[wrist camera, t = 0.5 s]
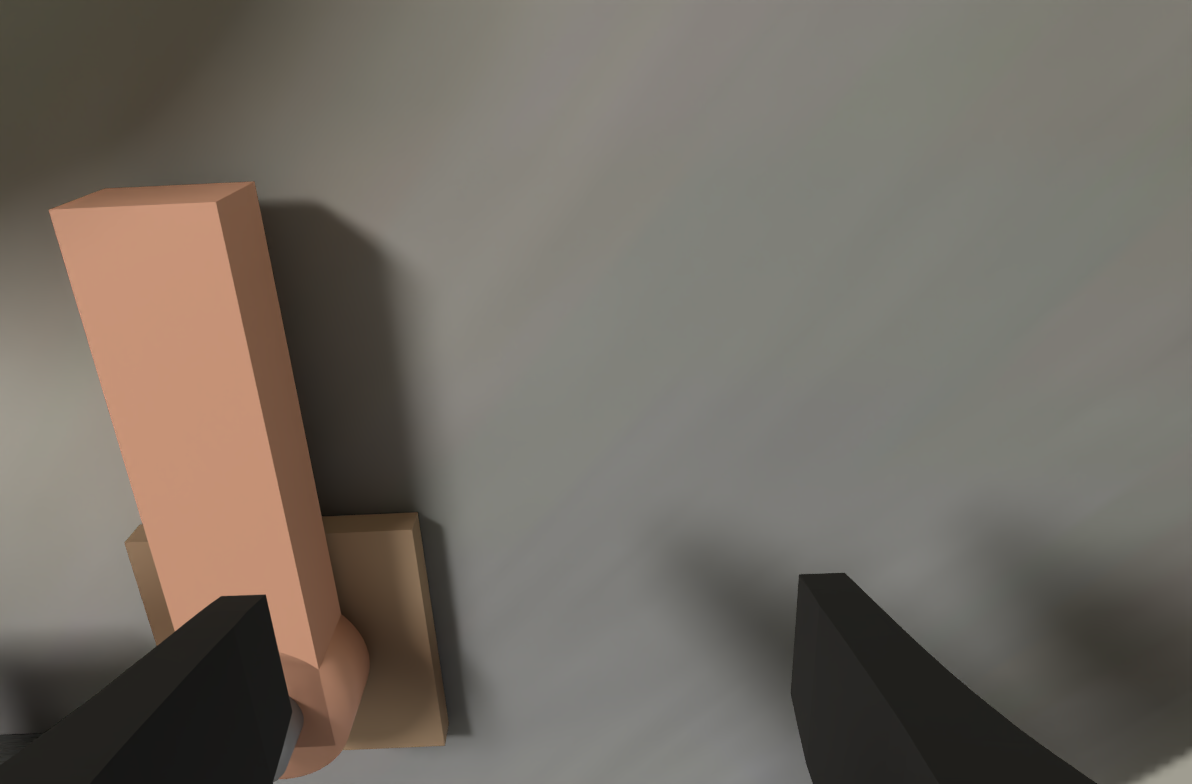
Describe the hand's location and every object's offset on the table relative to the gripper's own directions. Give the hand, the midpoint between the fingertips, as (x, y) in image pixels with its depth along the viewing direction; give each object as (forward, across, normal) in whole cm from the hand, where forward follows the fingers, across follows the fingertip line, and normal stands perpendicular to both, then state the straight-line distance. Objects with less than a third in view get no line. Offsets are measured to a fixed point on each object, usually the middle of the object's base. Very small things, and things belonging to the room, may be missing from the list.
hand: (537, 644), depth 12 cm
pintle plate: (+9, +7, +7) cm, 14 cm away
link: (+8, +7, +2) cm, 11 cm away
